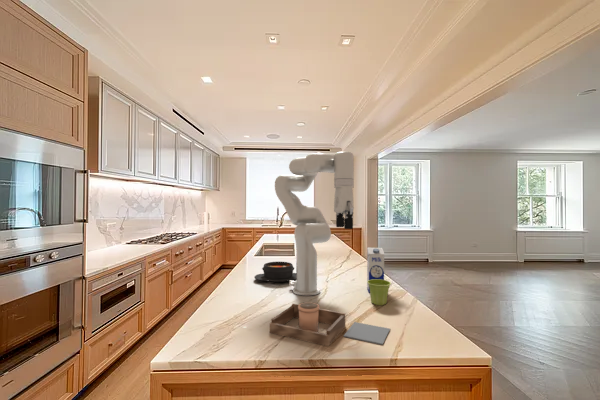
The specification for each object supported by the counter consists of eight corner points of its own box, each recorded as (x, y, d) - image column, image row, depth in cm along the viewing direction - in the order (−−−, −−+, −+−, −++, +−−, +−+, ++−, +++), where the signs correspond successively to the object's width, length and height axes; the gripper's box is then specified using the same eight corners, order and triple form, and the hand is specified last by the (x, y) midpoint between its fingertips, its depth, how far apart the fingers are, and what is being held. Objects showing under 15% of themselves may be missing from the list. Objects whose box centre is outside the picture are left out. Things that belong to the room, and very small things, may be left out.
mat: (343, 336, 97) (343, 335, 97) (354, 323, 108) (354, 321, 108) (382, 345, 92) (382, 343, 92) (390, 329, 103) (390, 328, 103)
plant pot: (391, 307, 124) (391, 285, 124) (367, 306, 125) (367, 284, 125) (389, 300, 133) (389, 279, 133) (367, 298, 135) (367, 278, 135)
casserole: (298, 275, 176) (298, 260, 175) (304, 284, 157) (305, 267, 157) (253, 276, 171) (253, 261, 171) (254, 286, 153) (254, 268, 153)
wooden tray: (269, 332, 100) (269, 318, 100) (292, 315, 114) (292, 303, 114) (328, 346, 91) (328, 330, 91) (345, 326, 105) (345, 312, 105)
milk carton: (381, 289, 149) (382, 247, 149) (384, 293, 142) (384, 249, 142) (366, 288, 149) (367, 247, 149) (368, 293, 143) (368, 249, 143)
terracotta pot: (294, 331, 101) (294, 307, 101) (303, 323, 107) (303, 300, 107) (314, 335, 98) (314, 310, 98) (322, 327, 104) (322, 304, 104)
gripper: (328, 185, 129) (328, 226, 129) (342, 182, 112) (342, 229, 112) (345, 185, 131) (345, 226, 131) (361, 182, 114) (362, 229, 114)
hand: (344, 227), depth 121 cm, fingers open, 9 cm apart
